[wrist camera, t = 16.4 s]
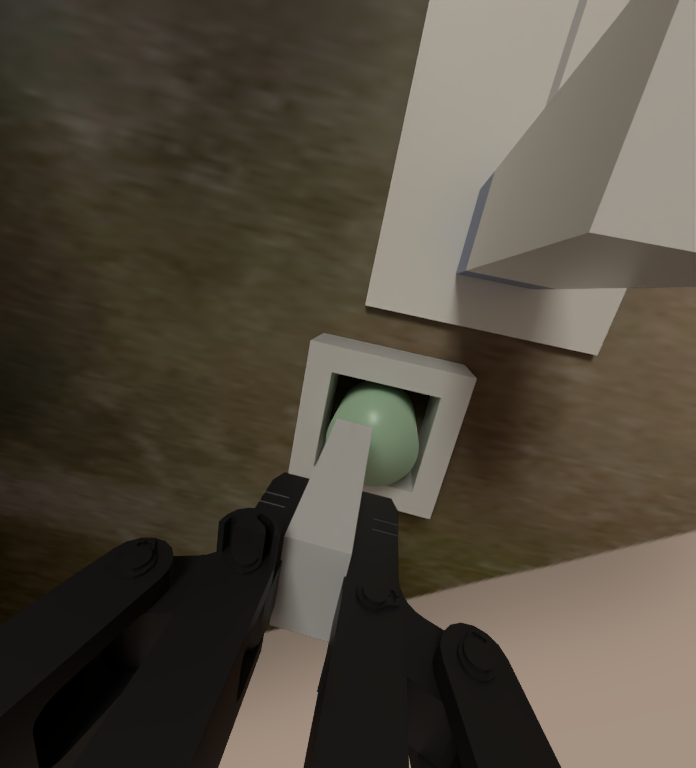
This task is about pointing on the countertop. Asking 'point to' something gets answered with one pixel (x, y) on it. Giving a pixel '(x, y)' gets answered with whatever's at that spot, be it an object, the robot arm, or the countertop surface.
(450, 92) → the slotted base plate
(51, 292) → the countertop surface
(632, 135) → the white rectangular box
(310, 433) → the housing
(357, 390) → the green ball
